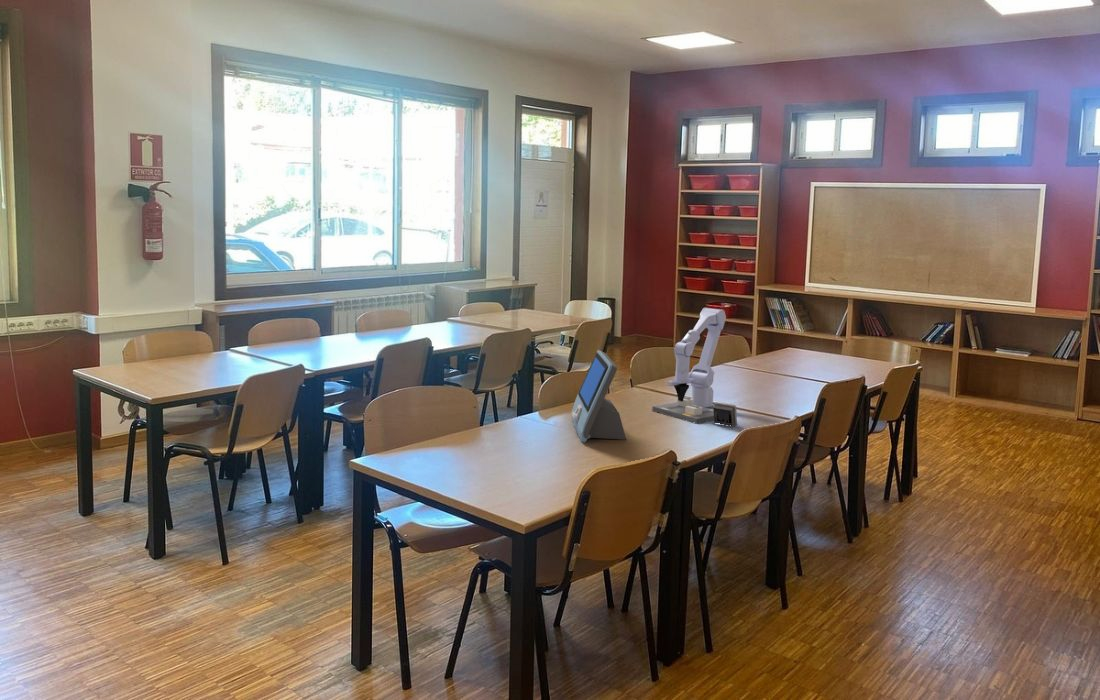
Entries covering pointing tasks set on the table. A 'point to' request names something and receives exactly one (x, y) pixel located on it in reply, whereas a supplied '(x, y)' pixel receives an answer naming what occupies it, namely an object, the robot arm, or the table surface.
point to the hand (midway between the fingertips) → (680, 400)
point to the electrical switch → (725, 413)
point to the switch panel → (679, 412)
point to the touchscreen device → (597, 403)
